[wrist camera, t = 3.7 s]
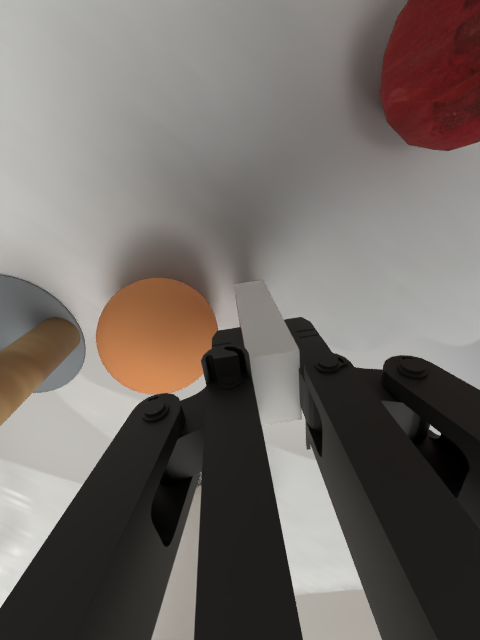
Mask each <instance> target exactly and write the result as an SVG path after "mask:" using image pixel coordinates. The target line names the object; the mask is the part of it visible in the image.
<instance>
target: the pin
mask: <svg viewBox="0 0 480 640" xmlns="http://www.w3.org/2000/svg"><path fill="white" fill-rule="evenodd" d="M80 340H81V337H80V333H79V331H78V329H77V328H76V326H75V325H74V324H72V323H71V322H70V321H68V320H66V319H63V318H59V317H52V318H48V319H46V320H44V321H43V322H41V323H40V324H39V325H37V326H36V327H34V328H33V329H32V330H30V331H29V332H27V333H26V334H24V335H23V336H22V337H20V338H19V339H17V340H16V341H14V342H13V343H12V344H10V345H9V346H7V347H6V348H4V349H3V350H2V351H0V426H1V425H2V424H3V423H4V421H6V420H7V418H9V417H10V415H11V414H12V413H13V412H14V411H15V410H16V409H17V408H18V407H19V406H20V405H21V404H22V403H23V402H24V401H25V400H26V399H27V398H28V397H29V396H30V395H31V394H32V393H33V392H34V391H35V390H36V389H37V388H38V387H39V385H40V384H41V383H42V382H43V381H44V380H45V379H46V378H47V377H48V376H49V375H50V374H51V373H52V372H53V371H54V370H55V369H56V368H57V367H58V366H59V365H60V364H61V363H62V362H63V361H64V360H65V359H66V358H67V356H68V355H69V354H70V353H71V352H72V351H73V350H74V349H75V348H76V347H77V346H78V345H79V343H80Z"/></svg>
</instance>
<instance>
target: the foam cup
mask: <svg viewBox="0 0 480 640" xmlns="http://www.w3.org/2000/svg"><path fill="white" fill-rule="evenodd" d="M200 505H201V485H200V486H199V487H197V488H196V490H195V493H194V497H193V500H192V504H191V507H190V510H189V514H188V517H187V521H186V524H185V527H184V531H183V534H182V537H181V541H180V544H179V548H178V551H177V554H176V558H175V561H174V564H173V568H172V571H171V575H170V578H169V581H168V585H167V588H166V592H165V595H164V598H163V602H162V605H161V608H160V612H159V615H158V619H157V622H156V625H155V629H154V632H153V636H152V639H151V640H194V627H195V606H196V586H197V566H198V545H199V525H200Z"/></svg>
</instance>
